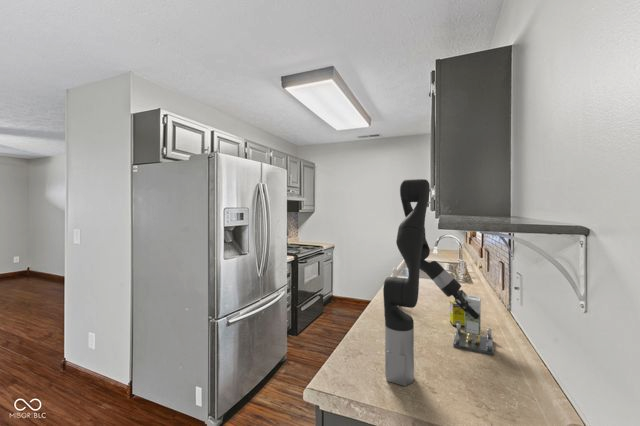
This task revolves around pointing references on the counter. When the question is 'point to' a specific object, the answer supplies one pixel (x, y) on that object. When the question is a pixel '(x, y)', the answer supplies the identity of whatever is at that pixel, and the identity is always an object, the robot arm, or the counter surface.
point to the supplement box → (456, 314)
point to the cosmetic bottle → (394, 274)
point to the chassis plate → (473, 341)
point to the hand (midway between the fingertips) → (477, 315)
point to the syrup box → (470, 323)
